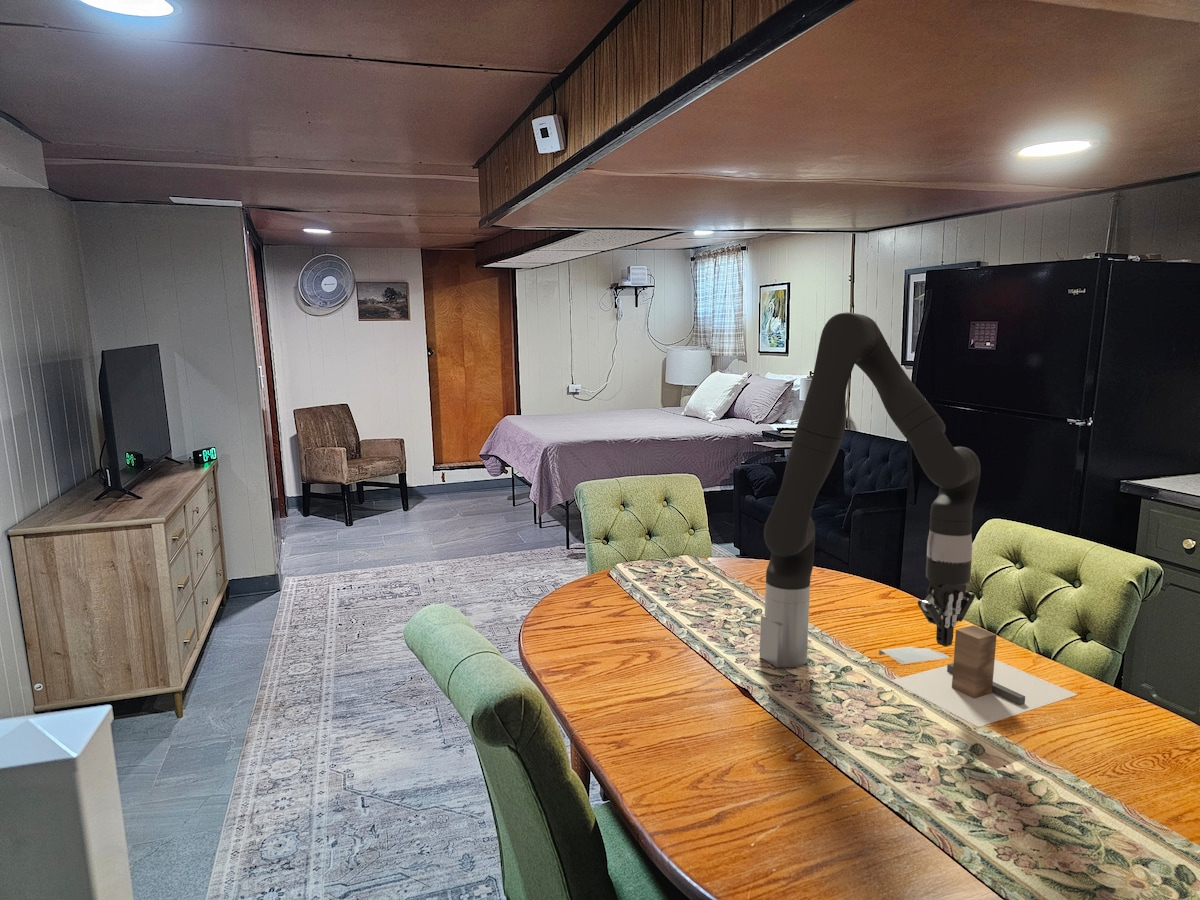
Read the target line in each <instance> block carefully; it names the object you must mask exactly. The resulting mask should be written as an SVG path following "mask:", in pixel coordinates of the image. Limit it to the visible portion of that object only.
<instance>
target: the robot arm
mask: <svg viewBox="0 0 1200 900" xmlns="http://www.w3.org/2000/svg"><path fill="white" fill-rule="evenodd" d="M821 331H822V332H821V334H820V338H819V343H818V348H817V352H816V353H817V354H816V359H815V362H814V363H815V364H814V369H813V374H812V378H811V381H810V384H809V388H808V390H807V394H806V397H805V400H804V404H803V407H802V411H801V414H800V416H799V420H798V422H797V425H796V429H795V432H794V434H793V435H794V436H793V439H792V441H791V447H790V450H789V453H788V457H787V460H786V461H787V462H786V465H785V468H784V469H785V470H784V473H783V478H782V483H781V486H780V489H779V491H778V494H777V497H776V500H775V501H774V504H773V506H772V509H771V511H770V514H769V515H768V517H767V520H766V522H765V525H764V528H763V540H764V543H765V546H766V547H767V548H768V550H769V552H771V553H770V557H769V558H770V559H769V562H768V565H767V568H766V571H765V572H766V573H765V596H764V597H765V598H764V614H763V615H761V616H760V632H759V633H760V635H759V637H760V638H759V658H761V659H763V660H764V661H765V662H767V663H769V664H770V665H772V666H774V667H775V668H798V667H802V666H804V665H805V664H807V661H808V645H809V644H808V643H809V617H810V616H809V615H810V595H811V594H810V592H811V576H812V573H813V569H814V558H815V546H816V527H815V523H814V520H813V518H812V516H811V515H812V511H813V508H814V504H815V501H816V499H817V496H818V494H819V492H820V490H821V488H822V486H823V485H824V483H825V482H826V479H827V477H828V475H829V474H830V471H831V470H832V467H833V465H834V463H835V461H836V458H837V456H838V454H839V452H840V448H841V444H842V441H843V437H844V435H845V432H846V425H847V424H846V423H847V409H846V408H847V407H846V404H847V403H846V401H847V400H846V399H847V397H846V396H847V395H846V394H847V390H848V389H847V388H848V383H849V381H850V378H851V375H852V372H853V370H854V367H855V365H856V366H857V367H858V368H859V369H861V371H862V372H863V373H864V374H865V375H866V376H867V377H868V378H869V380H870V381H871V383H872V385H873V386H874V387H875V389H876V391H877V393H878V396H879V398H880V399H881V402H882V405H883V406H884V408H885V411H886V412H887V414H888V416H889V418H890V419H891V421H892V422H893V423H894V425H895V427H896V428H897V429H898V430H899V431H900V433H901V434H902V435H903V437H904V438H905V439H906V440H907V442H908V443H909V444H910V445H911V446H910V447H911V449H912V451H913V453H914V455H915V458H916V460H918V463H919V465H920V467H921V470H923V473H924V474H925V475H926V477H927V478H928V479H929V480H930V481H931V482H932V483H933V484H934V485H936V486H937V487H939V489H938V494H937V497H936V498H935V500H933V502H931V507H930V512H929V513H930V515H929V516H930V517H929V532H928V536H927V543H926V565H925V578H927V580H928V581H929V586H928V588H927V596H926V597H925V598H924V600H923V599H919V600H918V601H917V606H918V607H919V609H920V611H921V612H922V613H923V615H924V617H925V618H926V620H927V621H928V623H930V624H933V625H936V637H935V639H936V643H937V644H938V645H940V646H942V647H948V646H952V645H953V640H954V632H955V631H954V629H955V626H957V623H958V622H962V621H963V620H964V618H965V616H966V614H967V613H968V611H969V609H970V607H971V605H972V603H973V601H974V600H975V598H976V594H975V593H973V592H969V591H968V589H967V584H969V583H970V582H971V578H972V577H971V574H972V562H973V561H972V558H973V538H972V534H973V533H972V529H973V507H974V504H975V502H976V498H977V495H978V489H979V485H980V481H981V474H982V472H981V469H982V468H981V463H980V459H979V457H978V455H977V454H976V453H975V452H974V451H973V450H972V449H970V448H969V447H965V446H953V445H952V444H951V442H950V441H949V439H948V437H947V436H946V434H945V433H946V430H947V429H946V428H947V427H946V424H945V422H944V420H943V419H942V418H941V416H940V415H939V414H938V412H936V410H935V408H933V406H932V405H931V404H930V402H928V400H927V399H926V398H925V396H924V395H923V394H922V393H921V391H920V390H919V389H918V388H917V387H916V385H915V384H914V382H913V381H912V380H911V378H909V376H908V375H907V373H906V372H905V371H904V368H902V366H901V364H900V363H899V361H898V360H897V358H896V356H895V355H894V353H893V352H892V350H891V348H890V346H889V344H888V342H887V339H886V338H885V337H884V335H883V333H882V331H881V329H880V328H879V326H878V325H877V323H876V322H875V320H874V319H872V318H871V317H869V316H868V315H864V314H860V313H855V312H850V311H844V312H843V311H842V312H838V313H836V314H834V315H833V316H831V317H830V318H829V319H828V320H827V322H825V325H824V327H823V328H822V330H821Z"/></svg>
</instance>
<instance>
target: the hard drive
mask: <svg viewBox="0 0 1200 900" xmlns="http://www.w3.org/2000/svg"><path fill="white" fill-rule="evenodd" d="M878 654H879V655H880V656H882V655H887V656H888V657H890V658H892V659H893V660H894V661H896V662H898V663H899V664H901V665H905V664H913V663H920V662H921V663H922V662H928V661H936V660H946V659H950V658H951V657H950V656H949V655H947V654H945V653H943V652H942V651H941V652H940V651H938V650H933V649H932V648H928V647H924V648H923V647H916V645H913V646H903V647H896V648H887V649H881V650H879V651H878Z"/></svg>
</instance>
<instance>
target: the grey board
mask: <svg viewBox="0 0 1200 900" xmlns="http://www.w3.org/2000/svg"><path fill="white" fill-rule="evenodd" d="M953 663H954V662H952V663H949V664H948V663H947V665H944V666H939V667H936V668H932V669H928V670H924V671H922V672H917V673H913V674H910V675H906V676H901V677H898V678H895V679H891V680H890V682H891V683H893V684H895V685H897V686H900V687H901V688H903V689H906V690H908V691H909V692H911V693H912V694H915V695H916V696H918V697H920V698H922V699H924V700H926V701H928V702H930V703H932V704H934V705H935V706H937V707H939V708H941V709H943V710H945V711H947V712H949V713H950V714H953V715H954V716H956V717H958V718H960V719H962V720H963V721H966V722H968V723H969V724H971V725H973V726H976V727H977V728H981V727H983V726H986V725H989V724H992V723H995V722H998V721H1001V720H1005V719H1008V718H1012V717H1015V716H1017V715H1020V714H1024V713H1026V712H1029V711H1032V710H1036V709H1039V708H1042V707H1045V706H1048V705H1051V704H1054V703H1056V702H1060V701H1063V700H1067V699H1069V698H1072V697H1076V696H1078V693H1076V692H1072V691H1070V690H1068V689H1065V688H1064V687H1062V686H1058V685H1056V684H1054V683H1051V682H1050V681H1047V680H1044V679H1041V678H1039V677H1038V676H1035V675H1033V674H1030V673H1029V672H1025V671H1023V670H1021V669H1019V668H1016V667H1014V666H1011V665H1009V664H1007V663H1005V662H1002V661H1000V660H997V659H995V661H994V673H993V685H992V693H991V694H988V695H985V696H981V697H978V698H975V699H974V698H972V697H970V696H968V695H966V694H964V693H962V692H959V691H957V690H955V689H953V688H952V677H953Z"/></svg>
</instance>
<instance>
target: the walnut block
mask: <svg viewBox="0 0 1200 900" xmlns="http://www.w3.org/2000/svg"><path fill="white" fill-rule="evenodd" d="M997 637H998V636H997V633H994V632H992V631H989V630H986V629H984V628H981V627H978V626H976V625H969V626H964V627H961V628H957V629H955V637H954V638H955V639H954V653H953V662H952V663H953V677H952V688H953V689H955V690H957V691H959V692H962V693H964V694H966V695H968V696H970V697H972V698H974V699H975V698H978V697H981V696H985V695H988V694H991V693H992V685H993V673H994V661H995V660H996V659H995V658H996V646H997Z"/></svg>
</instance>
